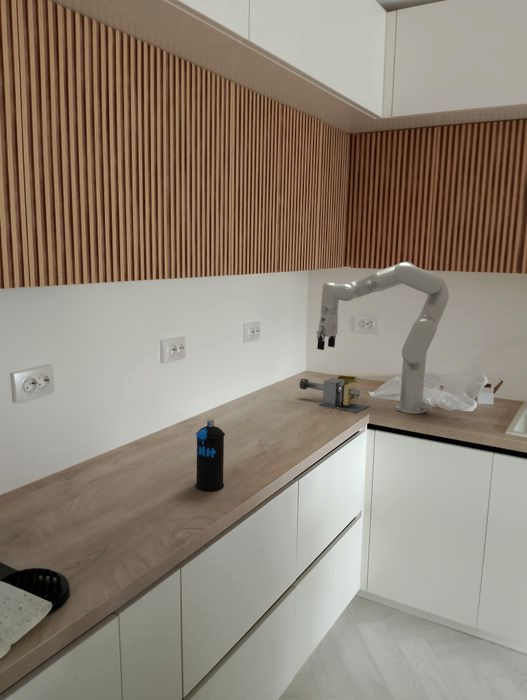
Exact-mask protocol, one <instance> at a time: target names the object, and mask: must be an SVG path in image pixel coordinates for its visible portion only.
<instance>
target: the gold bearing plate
mask: <svg viewBox="0 0 527 700" xmlns="http://www.w3.org/2000/svg"><path fill="white" fill-rule="evenodd" d="M357 383H358V382H356V383H354V382H352V383H350V384H347V385H345V386H344V402H343V405H347V406H348V405H350V404H352V403H354V404H355V402H357V396H352V395H350V390H352V389H355V390H357V388H358V387H357V386H358V384H357Z"/></svg>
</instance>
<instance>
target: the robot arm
mask: <svg viewBox="0 0 527 700" xmlns="http://www.w3.org/2000/svg"><path fill="white" fill-rule="evenodd" d="M399 285H405V286H407V287H409V288H412V289H415V290H416V291H419V292H421V293H423V294H427V297H426V300H425V302H424V304H423V307H422V309H421V311H420V313H419V315H418V317H417V318H416V320H414V323H413V324H412V326H411V329H410V331H409V333H408V335H407V338H406V339H405V342H404V343H403V346H402V348H401V356H402V364H401V365H402V368H401V380H400V381H401V382H400V394H399V395H400V397H399V404H397V405H395V409H396V411H398V412H400V413H404V414H411V415H413V414H414V415H416V414H417V415H418V414H424V413H425V412H426V411H427V410H429V411H432V409H433V406H432V405H431V404H428V403H427V404H426V403H425V400H424V399H423V398H424V386H425V377H426V376H425V375H426V374H425V373H426V363H427V362H426V361H427V353H428V351H429V348H430V346H431V344H432V342H433V340H434V338H435V335H436V333H437V330H438V326H439V323H440V321H441V319H442V316H443V314H444V312H445V310H446V308H447V306H448V305H447V304H448V301H449V298H450V297H449V295H450V294H449V288H448V285H447V282H446V280H445V279H444V278H443V277H442V276H441V275H440V274H439V273H437V272H434V271H432V272H431V271H428V270H426V269H423V268H421V267H419V266H416V265H414V263H412V262H411V261H403V262H400V263H397V264H394V265H391V266H389V267H386V268H382V269H380V270H377V271H375V272H373V273H371V274H369V275H367V276H365V277H362V278H359V279H357V280H354V281H351V282H347V283H338V282H332V281H325V282H323V285H322V291H321V292H322V293H321V303H320V304H321V305H320V317H319V323H318V330H316V337H317V338H316V339H317V346H316V347H317V350H321V351H324V350H325V345H326V343H325V342H326V341H325V339H326V337H328V339H327V340H328V341H327V347H329V348H335V346H336V338H337V335H338V330H339V329H338V328H339V316H338V312H339V301H343V302H350V301H352V300H355V299H357V298H360V297H363V296H367V295H368V294H372V293H377V292H382V291H385V290H388V289H391V288H393V287H396V286H399Z"/></svg>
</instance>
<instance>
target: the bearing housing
mask: <svg viewBox="0 0 527 700" xmlns="http://www.w3.org/2000/svg"><path fill="white" fill-rule="evenodd" d="M336 378H337V377H336ZM336 378H335V377H330V378H328V379H325V380H323V384H324V389H323V390H322V391H323V393H322V401H321V402H319V404H318V405H319V407H325V408H329V407H332V408H331V409H335V408H337V407H340V393H338V387H341V385H343V384H344V380H343V379H336Z"/></svg>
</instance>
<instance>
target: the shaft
mask: <svg viewBox="0 0 527 700" xmlns="http://www.w3.org/2000/svg"><path fill="white" fill-rule="evenodd" d="M299 389H301V390H307V389H313V390H317V391H318V390H319V391H323V389H324V383H318V382H313V381H309V379H307V378H301V379H300V381H299ZM338 393H340V394H341V387H338ZM350 395H352V396H356V398H357V397H360V395H361V391H360V390H359V389H356V390H355V389H352V390H350Z"/></svg>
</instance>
